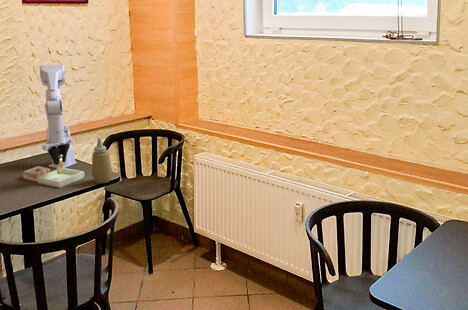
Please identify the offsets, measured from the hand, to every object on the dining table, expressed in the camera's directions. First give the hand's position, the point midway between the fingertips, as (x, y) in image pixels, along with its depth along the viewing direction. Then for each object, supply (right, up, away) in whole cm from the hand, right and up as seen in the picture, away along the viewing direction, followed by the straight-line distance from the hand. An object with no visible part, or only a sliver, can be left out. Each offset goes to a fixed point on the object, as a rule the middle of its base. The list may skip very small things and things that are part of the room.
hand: (59, 162), depth 224 cm
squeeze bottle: (+17, -8, +1) cm, 19 cm away
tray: (0, -7, +2) cm, 7 cm away
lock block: (-11, -6, +6) cm, 14 cm away
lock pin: (0, -4, +1) cm, 4 cm away
